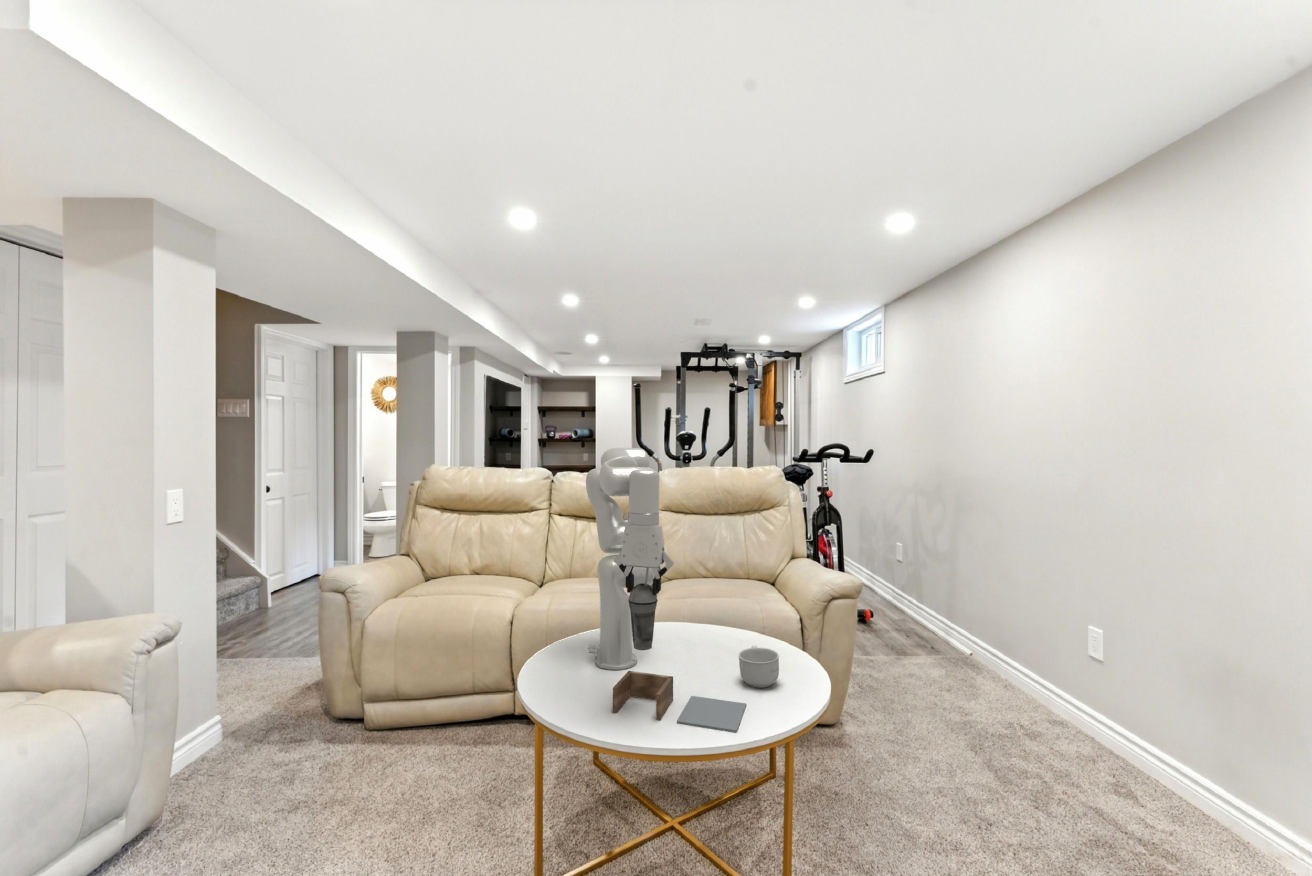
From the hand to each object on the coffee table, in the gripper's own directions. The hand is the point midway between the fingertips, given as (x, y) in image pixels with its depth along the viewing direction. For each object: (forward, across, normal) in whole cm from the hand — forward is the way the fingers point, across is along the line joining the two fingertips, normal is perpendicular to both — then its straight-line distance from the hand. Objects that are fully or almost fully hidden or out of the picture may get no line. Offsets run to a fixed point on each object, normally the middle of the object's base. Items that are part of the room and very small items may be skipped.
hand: (643, 591), depth 140 cm
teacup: (+29, +25, +24) cm, 45 cm away
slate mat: (+28, +17, +2) cm, 33 cm away
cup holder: (+28, 0, 0) cm, 28 cm away
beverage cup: (+14, 0, 0) cm, 14 cm away
